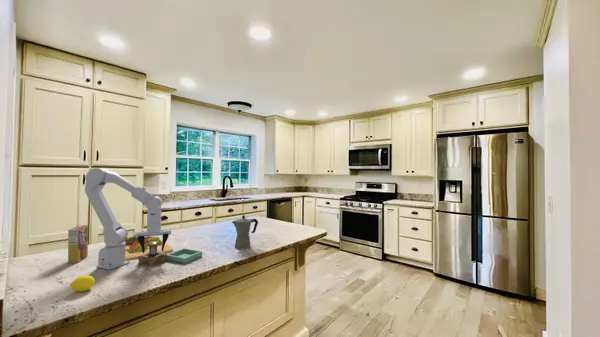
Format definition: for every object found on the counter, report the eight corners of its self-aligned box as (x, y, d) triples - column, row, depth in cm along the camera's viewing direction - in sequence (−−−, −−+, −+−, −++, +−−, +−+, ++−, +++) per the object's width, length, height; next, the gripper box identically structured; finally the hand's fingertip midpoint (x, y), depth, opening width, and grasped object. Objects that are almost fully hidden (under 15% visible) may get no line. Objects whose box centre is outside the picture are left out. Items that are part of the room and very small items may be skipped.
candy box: (77, 256, 124) (78, 225, 124) (88, 256, 125) (89, 224, 125) (66, 263, 115) (67, 229, 115) (78, 262, 117) (79, 229, 117)
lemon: (93, 287, 95) (96, 272, 96) (93, 292, 91) (97, 277, 92) (68, 289, 91) (72, 273, 92) (67, 295, 87) (71, 279, 87)
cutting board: (174, 252, 136) (175, 238, 136) (121, 262, 120) (122, 246, 120) (155, 238, 161) (155, 226, 161) (109, 245, 145) (109, 232, 145)
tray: (184, 263, 119) (184, 258, 119) (165, 260, 123) (165, 254, 123) (202, 256, 130) (202, 251, 130) (184, 253, 134) (184, 248, 134)
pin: (152, 264, 117) (152, 244, 117) (144, 262, 119) (145, 243, 119) (161, 261, 122) (161, 242, 122) (153, 259, 123) (154, 240, 123)
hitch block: (151, 266, 115) (151, 258, 115) (138, 263, 118) (138, 255, 118) (166, 260, 123) (166, 253, 123) (153, 258, 125) (154, 250, 125)
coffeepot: (233, 250, 141) (234, 217, 141) (229, 245, 149) (230, 214, 149) (260, 247, 148) (261, 215, 148) (254, 242, 156) (255, 213, 156)
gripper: (134, 225, 113) (133, 256, 113) (171, 222, 120) (170, 251, 120) (136, 222, 120) (135, 251, 120) (171, 220, 126) (170, 247, 126)
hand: (153, 251), depth 120 cm, fingers open, 7 cm apart
